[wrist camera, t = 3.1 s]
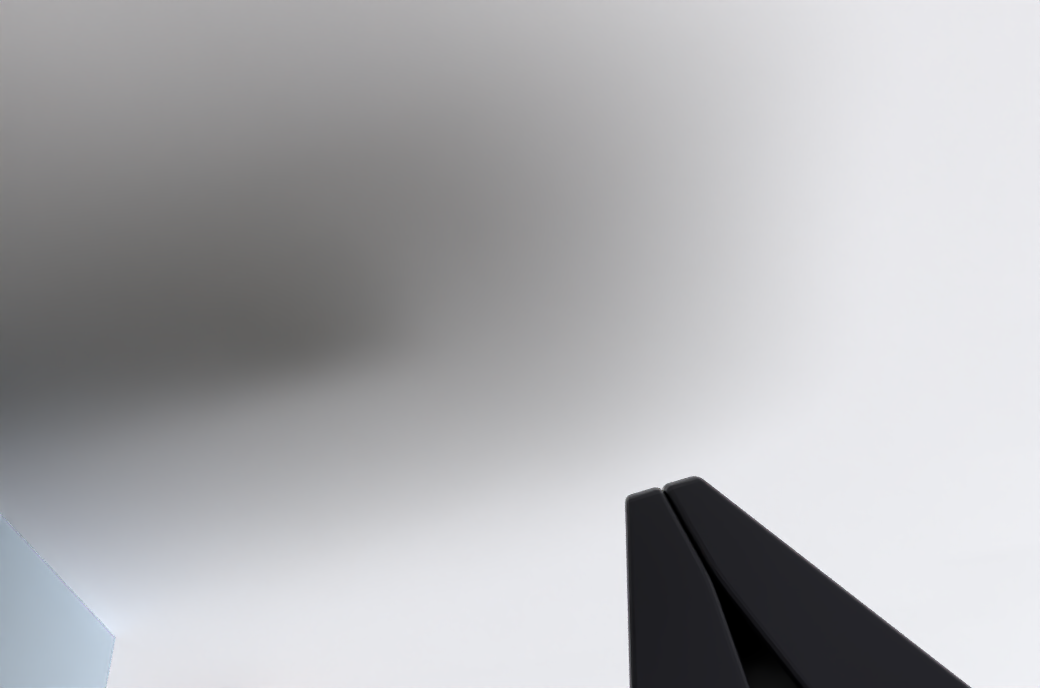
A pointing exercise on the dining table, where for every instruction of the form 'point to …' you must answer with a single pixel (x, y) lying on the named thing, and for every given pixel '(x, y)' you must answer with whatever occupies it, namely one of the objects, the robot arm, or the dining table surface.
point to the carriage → (45, 624)
